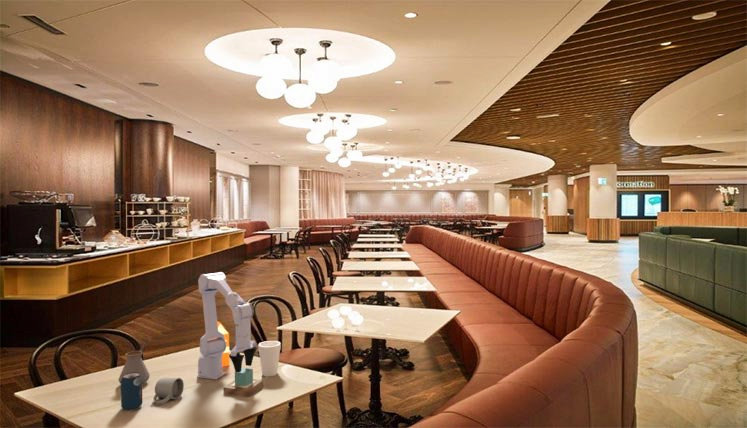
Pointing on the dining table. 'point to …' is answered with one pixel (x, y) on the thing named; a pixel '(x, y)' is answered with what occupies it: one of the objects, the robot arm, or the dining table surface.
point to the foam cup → (269, 357)
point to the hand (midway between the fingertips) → (243, 368)
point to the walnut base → (243, 388)
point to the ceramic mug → (168, 389)
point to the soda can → (131, 391)
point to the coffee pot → (136, 364)
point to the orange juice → (226, 335)
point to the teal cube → (244, 377)
